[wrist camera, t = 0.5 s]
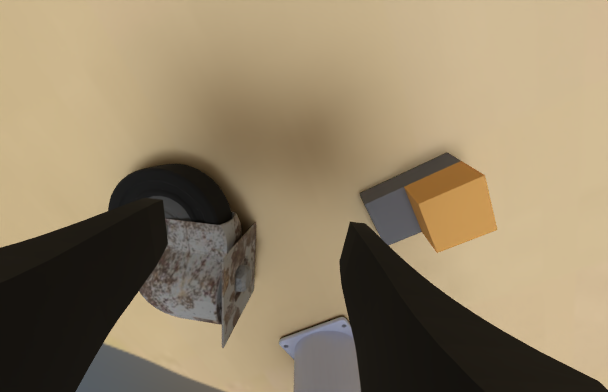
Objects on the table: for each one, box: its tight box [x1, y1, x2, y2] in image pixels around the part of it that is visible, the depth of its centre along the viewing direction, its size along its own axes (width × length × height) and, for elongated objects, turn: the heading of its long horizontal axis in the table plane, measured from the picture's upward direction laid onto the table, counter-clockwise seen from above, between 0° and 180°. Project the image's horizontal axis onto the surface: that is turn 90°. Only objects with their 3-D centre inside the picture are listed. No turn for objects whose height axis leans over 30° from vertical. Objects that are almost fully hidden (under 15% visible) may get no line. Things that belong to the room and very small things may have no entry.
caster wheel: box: [108, 164, 256, 348], centre depth 19 cm, size 7×11×10 cm
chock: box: [359, 153, 497, 253], centre depth 19 cm, size 4×7×4 cm, turn 118°
